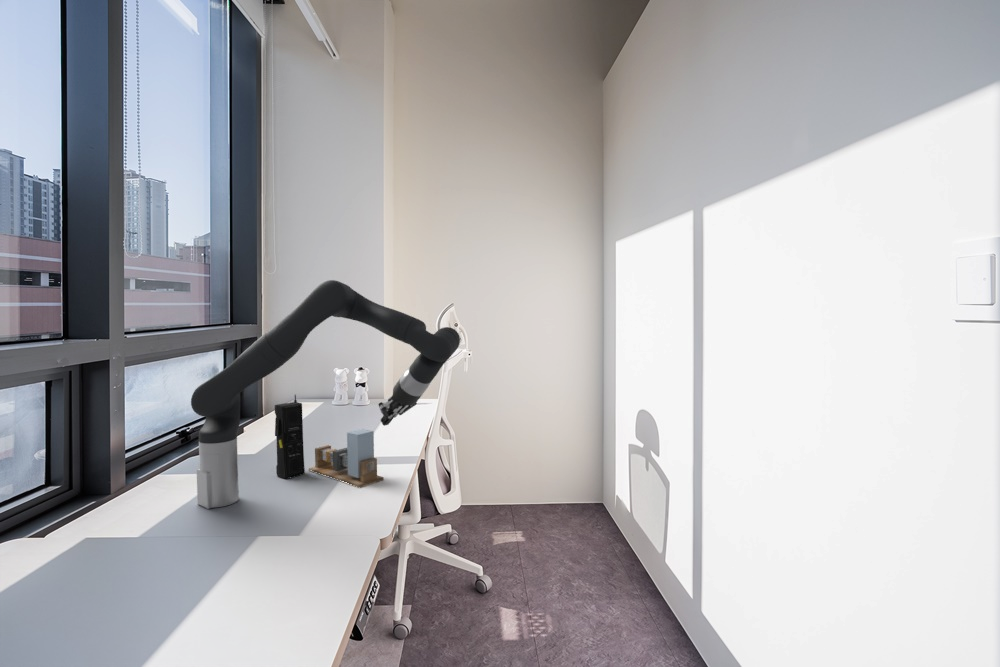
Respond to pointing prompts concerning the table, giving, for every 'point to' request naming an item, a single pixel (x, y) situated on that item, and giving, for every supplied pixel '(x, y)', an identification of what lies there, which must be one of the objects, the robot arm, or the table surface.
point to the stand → (342, 475)
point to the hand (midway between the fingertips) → (384, 422)
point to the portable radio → (289, 439)
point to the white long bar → (328, 457)
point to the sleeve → (359, 449)
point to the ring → (338, 459)
